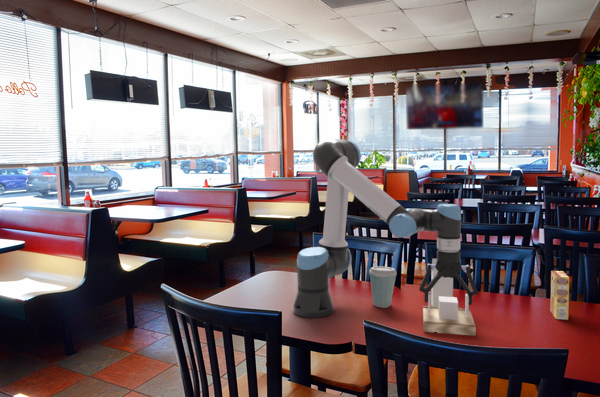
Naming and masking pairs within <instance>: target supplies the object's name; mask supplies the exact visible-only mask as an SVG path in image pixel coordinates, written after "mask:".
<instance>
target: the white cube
mask: <svg viewBox="0 0 600 397" xmlns="http://www.w3.org/2000/svg"><path fill="white" fill-rule="evenodd" d="M458 308H459V301H458V297H455V296H453V297H444V296H439V298H438V314H439V319H448V320H458Z"/></svg>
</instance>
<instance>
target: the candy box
mask: <svg viewBox="0 0 600 397" xmlns="http://www.w3.org/2000/svg"><path fill="white" fill-rule="evenodd" d="M550 272H551V273H550V312H551V314H552V316H553V317H554V319H556V320H563V321H568V320H569V305H570V302H569V301H570V299H569V297H570V277H569V276H568V275H567V273H565V271H563V270H560V271H559V270H551V271H550Z"/></svg>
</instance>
